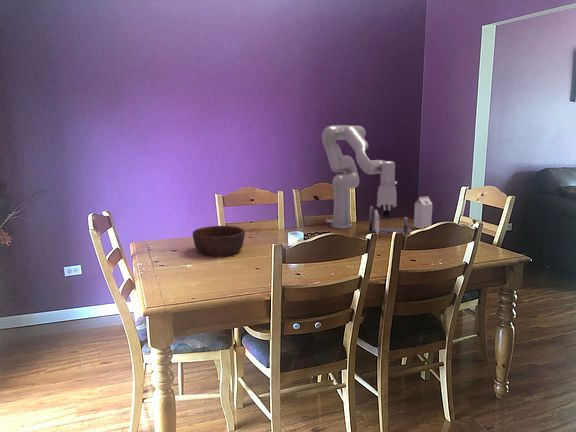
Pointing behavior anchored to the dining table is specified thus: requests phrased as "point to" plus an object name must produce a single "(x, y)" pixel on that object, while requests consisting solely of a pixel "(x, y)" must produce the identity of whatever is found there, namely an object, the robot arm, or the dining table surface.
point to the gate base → (388, 230)
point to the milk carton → (423, 212)
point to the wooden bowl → (218, 240)
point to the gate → (376, 221)
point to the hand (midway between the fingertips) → (386, 217)
